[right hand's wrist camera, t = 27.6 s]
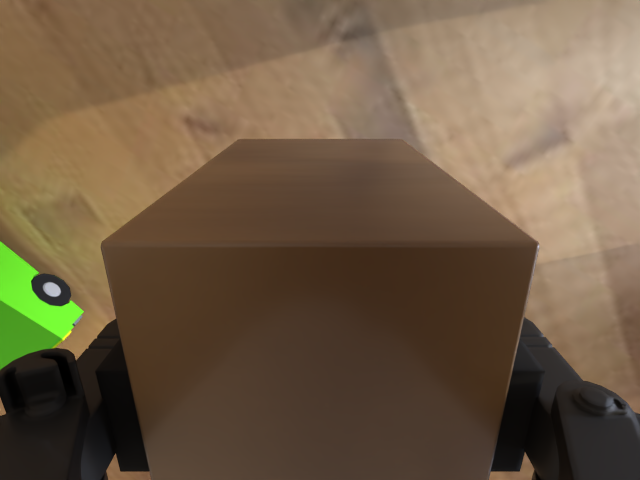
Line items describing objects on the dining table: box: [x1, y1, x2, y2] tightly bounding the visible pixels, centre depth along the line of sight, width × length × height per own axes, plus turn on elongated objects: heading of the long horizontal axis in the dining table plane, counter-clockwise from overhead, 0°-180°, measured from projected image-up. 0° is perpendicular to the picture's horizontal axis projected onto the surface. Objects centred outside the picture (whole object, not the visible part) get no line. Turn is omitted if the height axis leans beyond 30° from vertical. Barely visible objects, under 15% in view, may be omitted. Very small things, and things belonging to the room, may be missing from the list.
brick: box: [101, 139, 539, 480], centre depth 14 cm, size 7×8×12 cm
